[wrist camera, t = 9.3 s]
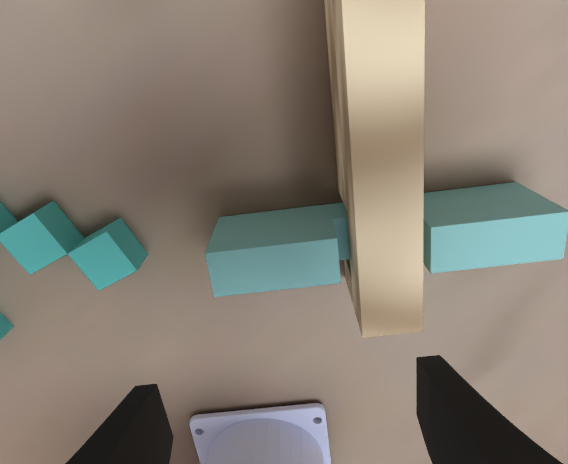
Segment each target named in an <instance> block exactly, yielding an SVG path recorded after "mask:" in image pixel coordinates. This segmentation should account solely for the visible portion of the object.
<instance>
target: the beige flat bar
mask: <svg viewBox="0 0 568 464" xmlns="http://www.w3.org/2000/svg"><path fill="white" fill-rule="evenodd" d="M324 5H325V18H326V31H327V44H328V57H329V70H330V83H331V96H332V110H333V123H334V136H335V149H336V162H337V175H338V188H339V193H340V196H341V198H342V200H343V203H344V205H345V208H346V210H347V223H348V237H349V252H350V259H347V260H344V266H345V278H346V281H347V285H348V288H349V292H350V295H351V299H352V302H353V306H354V309H355V313H356V316H357V320H358V323H359V327H360V331H361V334H362V338H366V337H375V336H385V335H395V334H404V333H414V332H423V218H424V49H425V0H324Z"/></svg>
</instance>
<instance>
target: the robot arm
mask: <svg viewBox="0 0 568 464" xmlns="http://www.w3.org/2000/svg"><path fill="white" fill-rule="evenodd" d="M316 417H320V418H318V419H316ZM417 417H418V420H419V424H420V427H421V431H422V434H423V437H424V441H425V444H426V447H427V450H428V453H429V456H430V458H431V461H432V463H433V464H562V463H561V462H560V461H558V460H557V459H556V458H554V457H553V456H552V455H550V454H549V453H548V452H546V451H545V450H544V449H543V448H541V447H540V446H539V445H538V444H536V443H535V442H534V441H533V440H531V439H530V438H529V437H528V436H527V435H525V434H524V433H523V432H522V431H520V430H519V429H518V428H517V427H516V426H514V425H513V424H512V423H511V422H510V421H509V420H508V419H506V418H505V417H504V416H503V415H502V414H501V413H500V412H499V411H497V410H496V409H495V408H494V407H493V406H492V405H491V404H490V403H489V402H487V401H486V400H485V399H484V398H483V397H482V396H481V395H480V394H479V393H478V392H477V391H476V390H475V389H474V388H473V387H472V386H470V385H469V384H468V383H467V382H466V381H465V380H464V379H463V378H462V377H461V376H460V375H459V374H458V373H457V372H456V371H455V370H454V369H453V368H452V367H451V366H450V365H449V364H448V363H447V362H446V361H445V360H444V359H443V358H442V357H441V356H440V355H437V356H427V357H417ZM189 425H190V429H191V433H192V436H193V440H194V443H195V447H196V450H197V454H198V457H199V461H200V464H331V458H330V449H329V441H328V432H327V423H326V414H325V408H324V406H323V405H322V404H319V403H311V404H301V405H291V406H281V407H270V408H260V409H250V410H239V411H229V412H219V413H209V414H198V415H194V416H193V417H191V419H190V423H189ZM199 429H202V430H199ZM172 443H173V434H172V431H171V428H170V425H169V421H168V418H167V415H166V412H165V409H164V405H163V402H162V399H161V396H160V393H159V389H158V386H157V384H150V385H140V386H135V387H134V388H133V389H132V390H131V391H130V393H129V394H128V395H127V396H126V397H125V398H124V399H123V401H122V402H121V403H120V404H119V405H118V406H117V407H116V409H115V410H114V411H113V412H112V413H111V414H110V416H109V417H108V418H107V419H106V420H105V421H104V422H103V424H102V425H101V426H100V427H99V428H98V429H97V430H96V431H95V432H94V434H93V435H92V436H91V437H90V438H89V439H88V440H87V441H86V443H85V444H84V445H83V446H82V447H81V448H80V449H79V450H78V451H77V452H76V453H75V454H74V455H73V456H72V458H71V459H70V460H69V461H68V462H67V463H66V464H169V461H170V455H171V449H172Z"/></svg>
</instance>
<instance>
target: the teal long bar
mask: <svg viewBox="0 0 568 464" xmlns="http://www.w3.org/2000/svg"><path fill="white" fill-rule="evenodd" d="M567 231H568V210H567V209H565V208H563V207H561V206H559V205H557V204H556V203H554V202H552V201H550V200H548V199H546V198H544V197H543V196H541V195H539V194H537V193H535V192H533V191H532V190H530V189H528V188H526V187H524V186H522V185H521V184H519V183H517V182H511V183H502V184H494V185H486V186H477V187H469V188H460V189H452V190H443V191H435V192H426V193H424V218H423V263H424V264H425V266H426V267H427V269H428V270H429V272H430V273H438V272H447V271H456V270H466V269H475V268H484V267H493V266H502V265H511V264H520V263H529V262H538V261H548V260H557V259H563V257H564V250H565V244H566V237H567ZM205 257H206V262H207V266H208V271H209V275H210V280H211V284H212V289H213V293H214V297H220V296H229V295H238V294H247V293H256V292H265V291H274V290H283V289H292V288H302V287H311V286H320V285H329V284H338V283H341V278H340V266H339V260H347V259H350V252H349V237H348V223H347V210H346V208H345V205H344V203H343V202H342V203H333V204H325V205H317V206H308V207H300V208H291V209H283V210H274V211H266V212H257V213H249V214H240V215H232V216H224V217H219V218H218V221H217V223H216V226H215V228H214V231H213V234H212V236H211V239H210V241H209V244H208V246H207V249H206V251H205Z"/></svg>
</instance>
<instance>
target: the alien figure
mask: <svg viewBox="0 0 568 464" xmlns="http://www.w3.org/2000/svg"><path fill="white" fill-rule="evenodd" d="M0 242H1V244H2V245H3V246H4V247H5V248H6V249H7V250H8V251H9V252H10V254H11V255H12V256H13V257H14V258H15V259H16V260H17V261H18V262H19V264H20V265H21V266H22V267H23V268H24V269H25V270H26V271H27V272H28V273H29V275H31V274H32V273H34V272H36V271H38V270H39V269H41V268H43V267H45V266H47V265H48V264H50V263H52V262H54V261H55V260H57V259H59V258H61V257H62V256H64V255H66V254H68V255H69V256H70V257H71V259H72V260H73V261H74V262H75V263H76V265H77V266H78V267H79V268H80V269H81V271H82V272H83V273H84V274H85V275H86V276H87V278H88V279H89V280H90V281H91V282H92V284H93V285H94V286H95V287H96V288H97V290H98V291H100V290H101V289H103V288H105V287H107V286H109V285H111V284H113V283H115V282H116V281H118V280H120V279H122V278H124V277H126V276H128V275H130V274H131V273H133V272H135V271H137V270H138V268H139V267H140V265H141V264H142V262H143V261H144V259H145V258H146V256H147V255H148V253H147V252H146V250H145V249H144V248H143V246H142V245H141V244H140V242H139V241H138V240H137V238H136V237H135V236H134V234H133V233H132V232H131V231H130V229H129V228H128V227H127V225H126V224H125V223H124V221H123V220H122V219H121V217H120V218H119V219H117V220H115V221H113V222H112V223H110V224H108V225H106V226H105V227H103V228H101V229H99V230H98V231H96V232H94V233H92V234H91V235H89V236H87V237H85V238H84V237H83V236H82V235H81V233H80V232H79V231H78V230H77V228H76V227H75V226H74V225H73V224H72V222H71V221H70V220H69V219H68V217H67V216H66V215H65V214H64V212H63V211H62V210H61V209H60V208H59V206H58V205H57V204H56V203H55V201H52V202H50V203H49V204H47V205H45V206H44V207H42V208H40V209H39V210H37V211H35V212H34V213H32V214H30V215H29V216H27V217H25V218H24V219H22V220H20V221H19V222H18V221H17V220H16V219H15V218H14V216H13V215H12V214H11V213H10V212H9V211H8V209H7V208H6V207H5V206H4V205H3V204H2V202H1V201H0ZM12 327H13V325H12V324H11V323H10V322H9V321H8V320H7V319H6V318H5V317H4V316H3V315H2V314H1V313H0V340H1V339H2V338H3V337H4V336H5V335H6V334H7V333H8V332H9V331H10V330H11V329H12Z"/></svg>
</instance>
